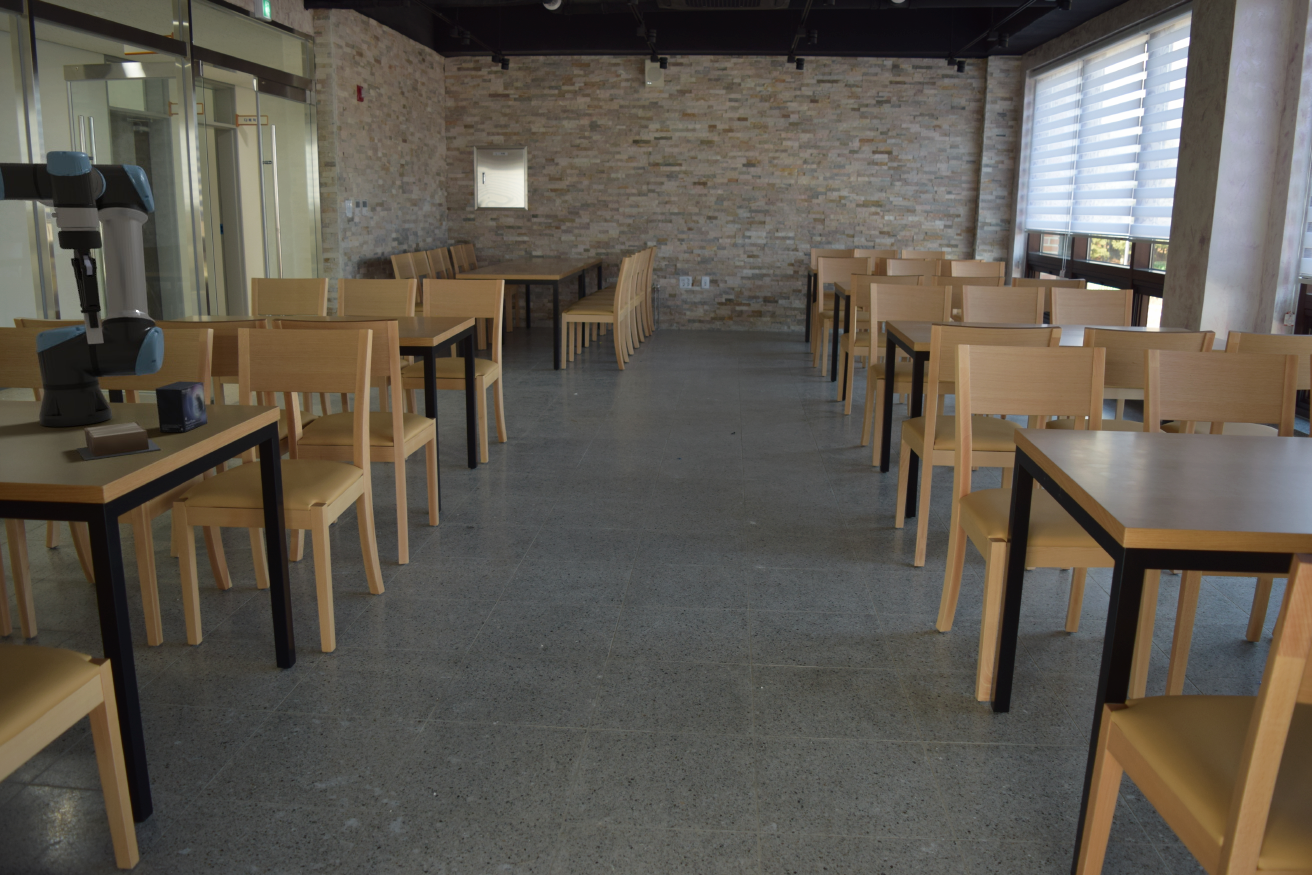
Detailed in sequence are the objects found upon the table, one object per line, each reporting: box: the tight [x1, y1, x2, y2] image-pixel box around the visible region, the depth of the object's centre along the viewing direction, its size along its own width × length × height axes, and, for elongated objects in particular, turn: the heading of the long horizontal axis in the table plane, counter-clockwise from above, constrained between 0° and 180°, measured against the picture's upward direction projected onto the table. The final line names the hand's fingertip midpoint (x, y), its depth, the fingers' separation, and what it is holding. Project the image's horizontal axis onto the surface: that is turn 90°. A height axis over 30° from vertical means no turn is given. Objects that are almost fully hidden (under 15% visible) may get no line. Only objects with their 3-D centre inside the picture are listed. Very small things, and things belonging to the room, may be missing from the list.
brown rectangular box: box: [83, 421, 149, 457], centre depth 195 cm, size 4×10×12 cm
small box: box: [154, 380, 208, 433], centre depth 215 cm, size 11×6×10 cm, turn 179°
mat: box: [76, 438, 161, 462], centre depth 195 cm, size 12×14×1 cm
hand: (95, 343), depth 193 cm, fingers closed
